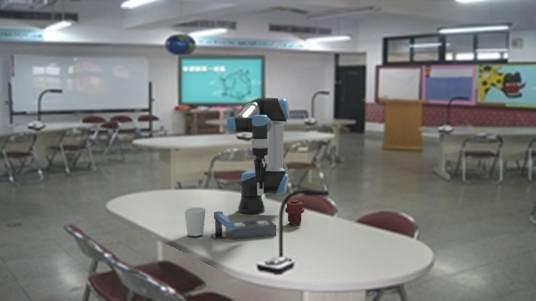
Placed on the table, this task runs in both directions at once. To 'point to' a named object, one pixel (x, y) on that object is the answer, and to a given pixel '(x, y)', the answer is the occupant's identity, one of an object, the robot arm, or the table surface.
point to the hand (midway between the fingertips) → (260, 194)
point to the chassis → (252, 229)
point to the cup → (195, 221)
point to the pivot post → (218, 231)
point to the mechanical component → (294, 212)
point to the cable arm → (224, 220)
